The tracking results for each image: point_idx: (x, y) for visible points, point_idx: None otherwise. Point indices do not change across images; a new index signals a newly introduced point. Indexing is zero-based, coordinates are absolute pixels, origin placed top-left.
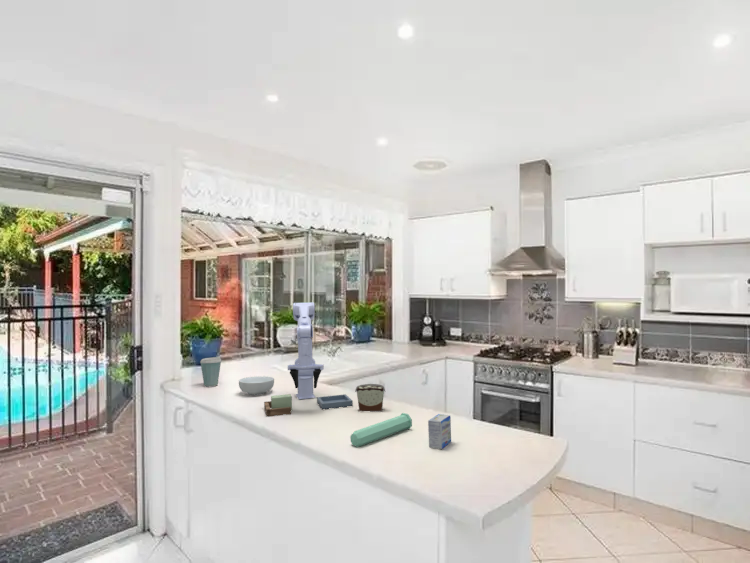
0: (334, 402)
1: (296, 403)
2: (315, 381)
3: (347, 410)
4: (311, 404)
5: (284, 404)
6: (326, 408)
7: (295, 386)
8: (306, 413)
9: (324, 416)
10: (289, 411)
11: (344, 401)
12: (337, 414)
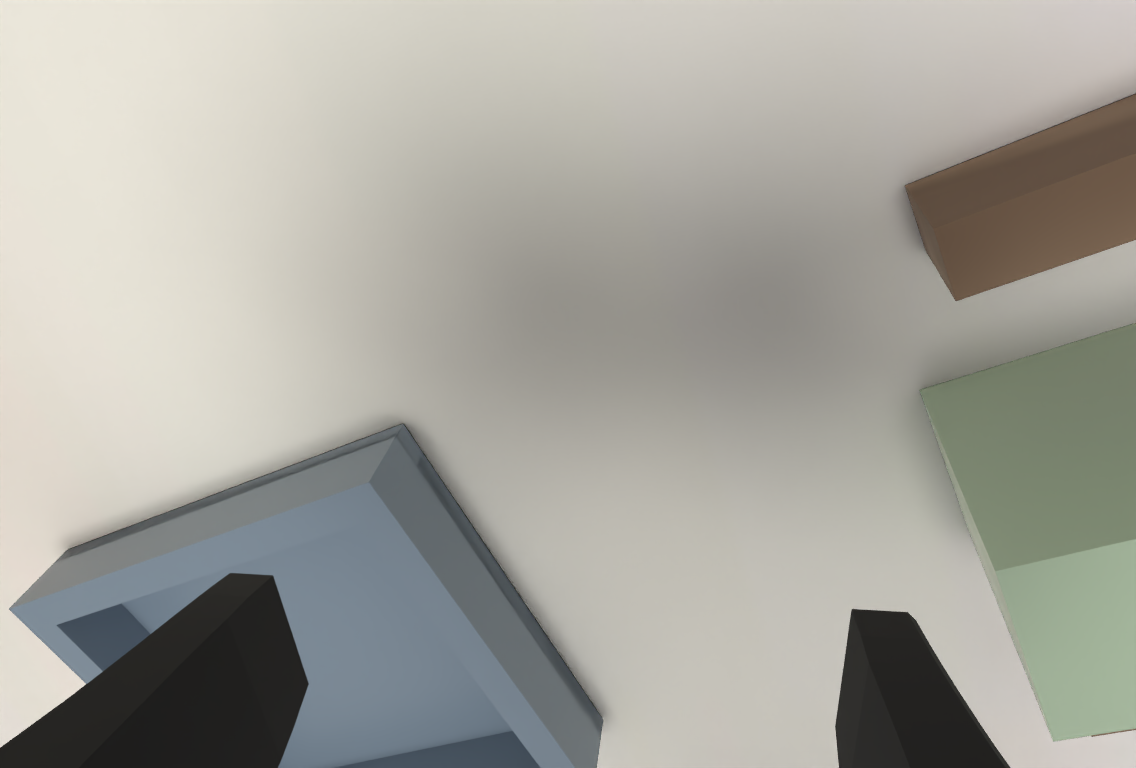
0: (207, 539)
1: None
2: (43, 732)
3: (30, 388)
4: (662, 666)
5: (1120, 418)
6: (345, 452)
7: (923, 652)
8: (602, 227)
9: (202, 45)
10: (949, 190)
11: (92, 579)
12: (53, 181)
